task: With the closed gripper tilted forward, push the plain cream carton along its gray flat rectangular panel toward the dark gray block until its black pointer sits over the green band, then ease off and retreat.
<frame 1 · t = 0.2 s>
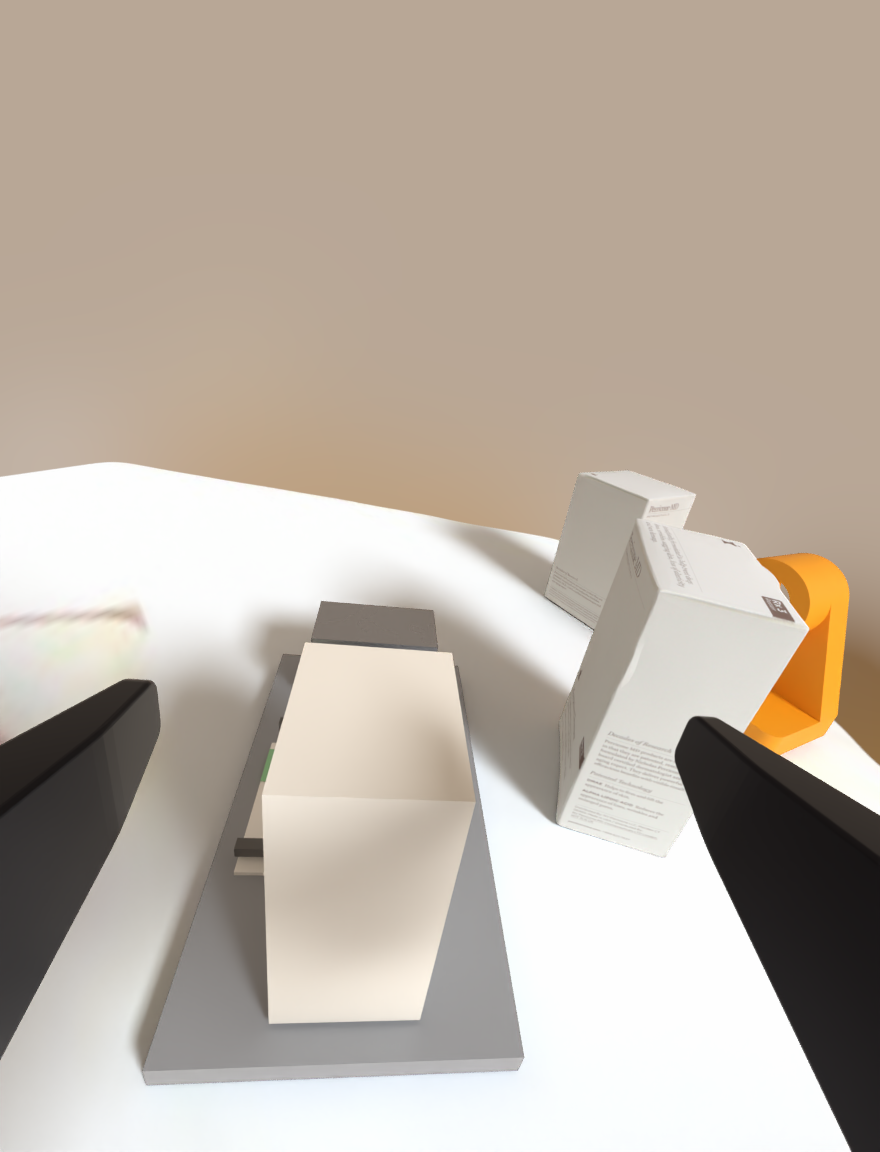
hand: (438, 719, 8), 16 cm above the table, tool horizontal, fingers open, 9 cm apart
dark gray block: (370, 689, 32), resting on gray flat rectangular panel
bracket: (717, 706, 38), on the table
supplement box: (594, 609, 48), on the table
skincare box: (606, 789, 29), on the table
gray flat rectangular panel: (361, 801, 26), on the table
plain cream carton: (330, 788, 18), point 7 cm above the table, slide at 0.0 cm
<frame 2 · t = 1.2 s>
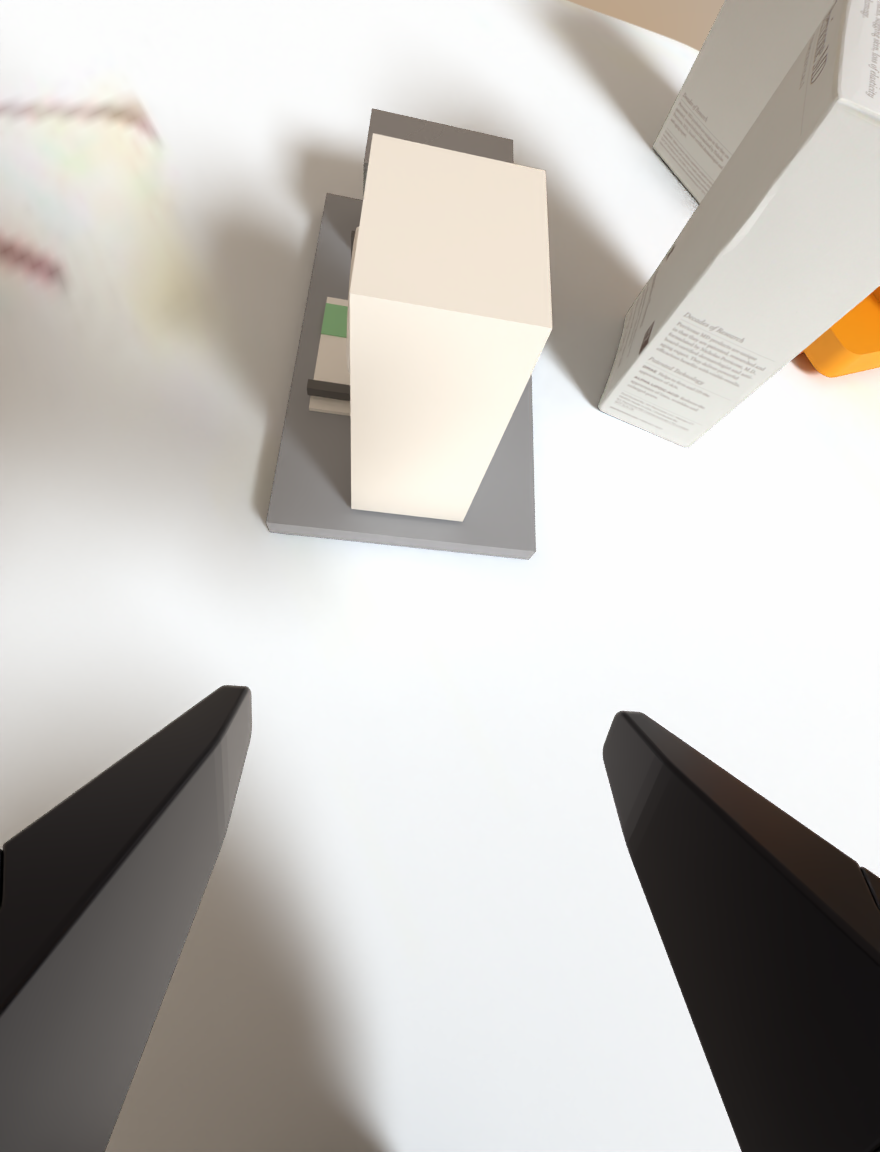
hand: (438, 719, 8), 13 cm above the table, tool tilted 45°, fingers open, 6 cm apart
dark gray block: (427, 249, 28), resting on gray flat rectangular panel
bracket: (805, 318, 34), on the table
supplement box: (711, 176, 38), on the table
skincare box: (654, 386, 29), on the table
gray flat rectangular panel: (417, 366, 27), on the table
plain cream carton: (396, 331, 19), point 7 cm above the table, slide at 0.0 cm
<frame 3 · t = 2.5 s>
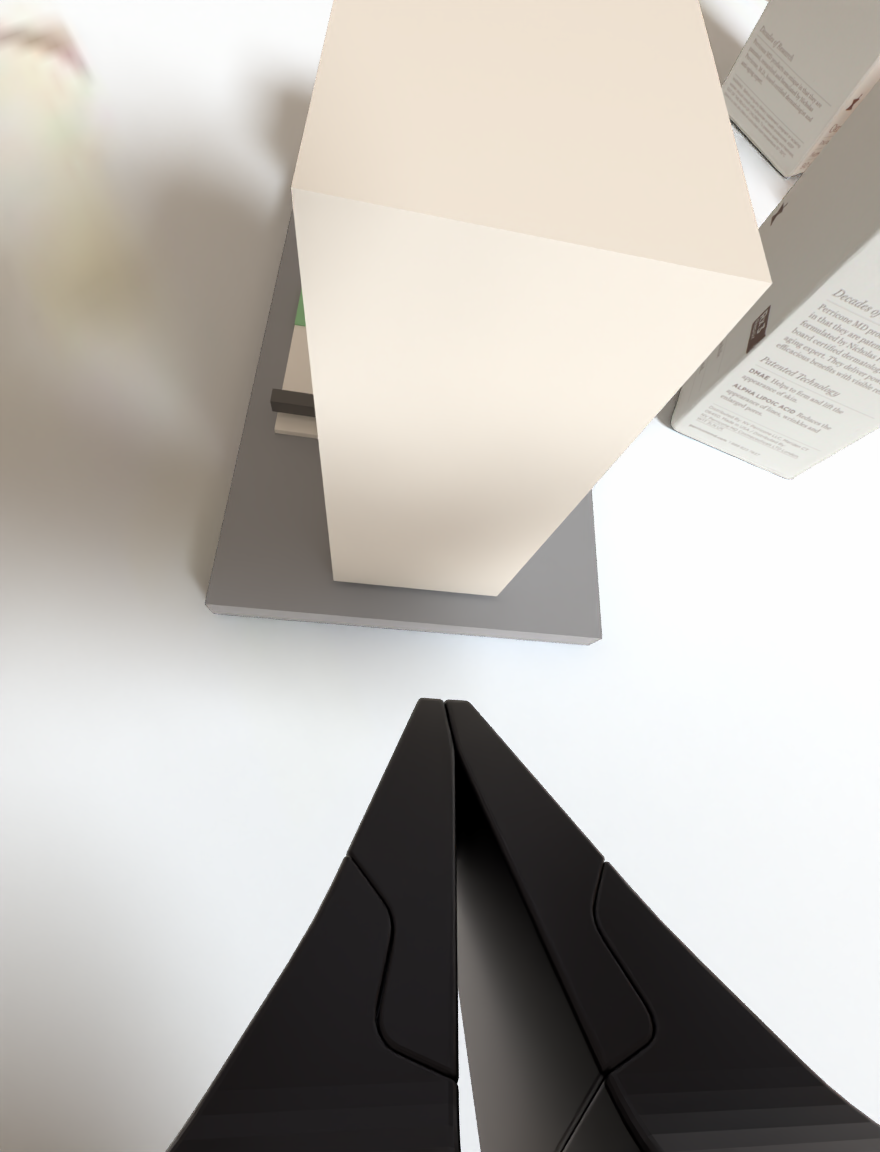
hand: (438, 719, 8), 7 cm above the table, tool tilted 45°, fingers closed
supplement box: (785, 137, 31), on the table
skincare box: (739, 396, 22), on the table
gray flat rectangular panel: (428, 370, 20), on the table
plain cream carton: (402, 314, 12), point 7 cm above the table, slide at 0.0 cm
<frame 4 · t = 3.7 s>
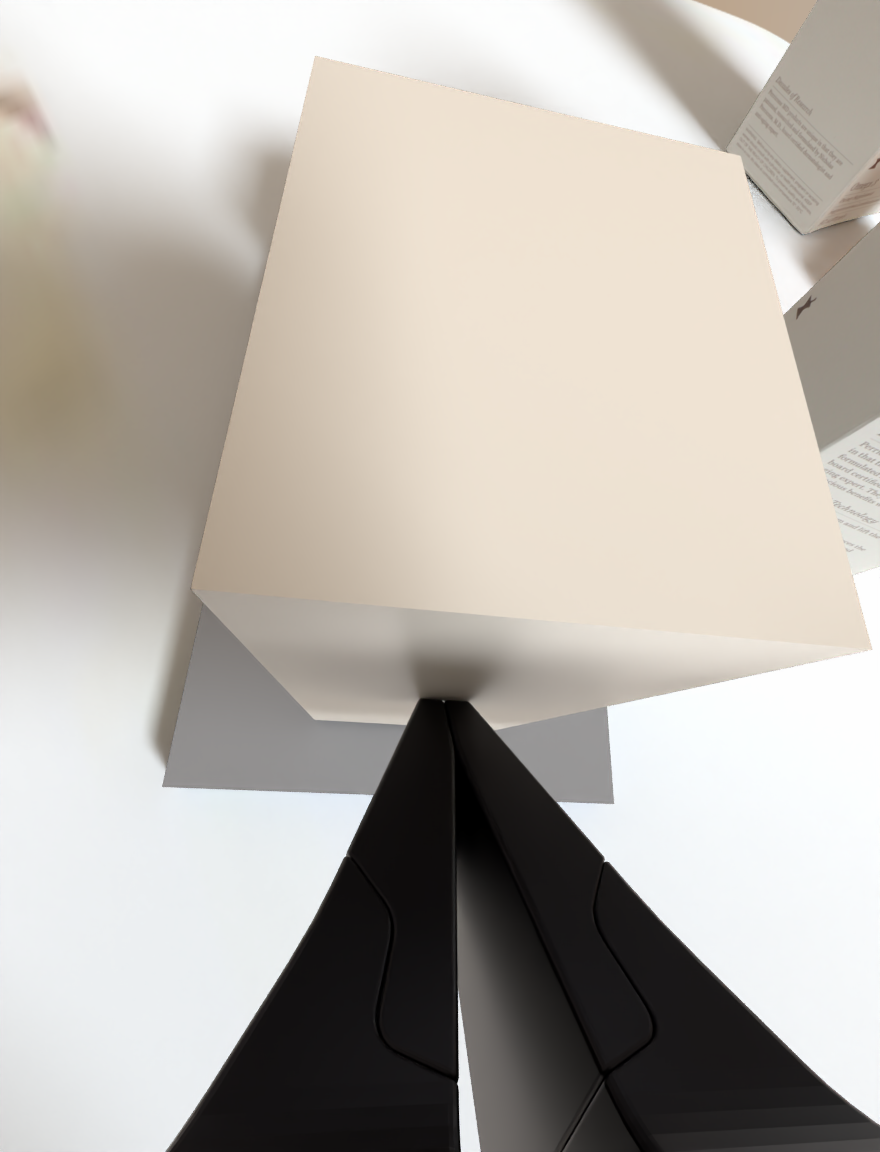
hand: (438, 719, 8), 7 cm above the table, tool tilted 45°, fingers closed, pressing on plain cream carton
supplement box: (800, 187, 29), on the table
skincare box: (758, 489, 21), on the table
gray flat rectangular panel: (420, 474, 18), on the table
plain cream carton: (386, 459, 10), point 7 cm above the table, slide at 0.8 cm, touching gripper
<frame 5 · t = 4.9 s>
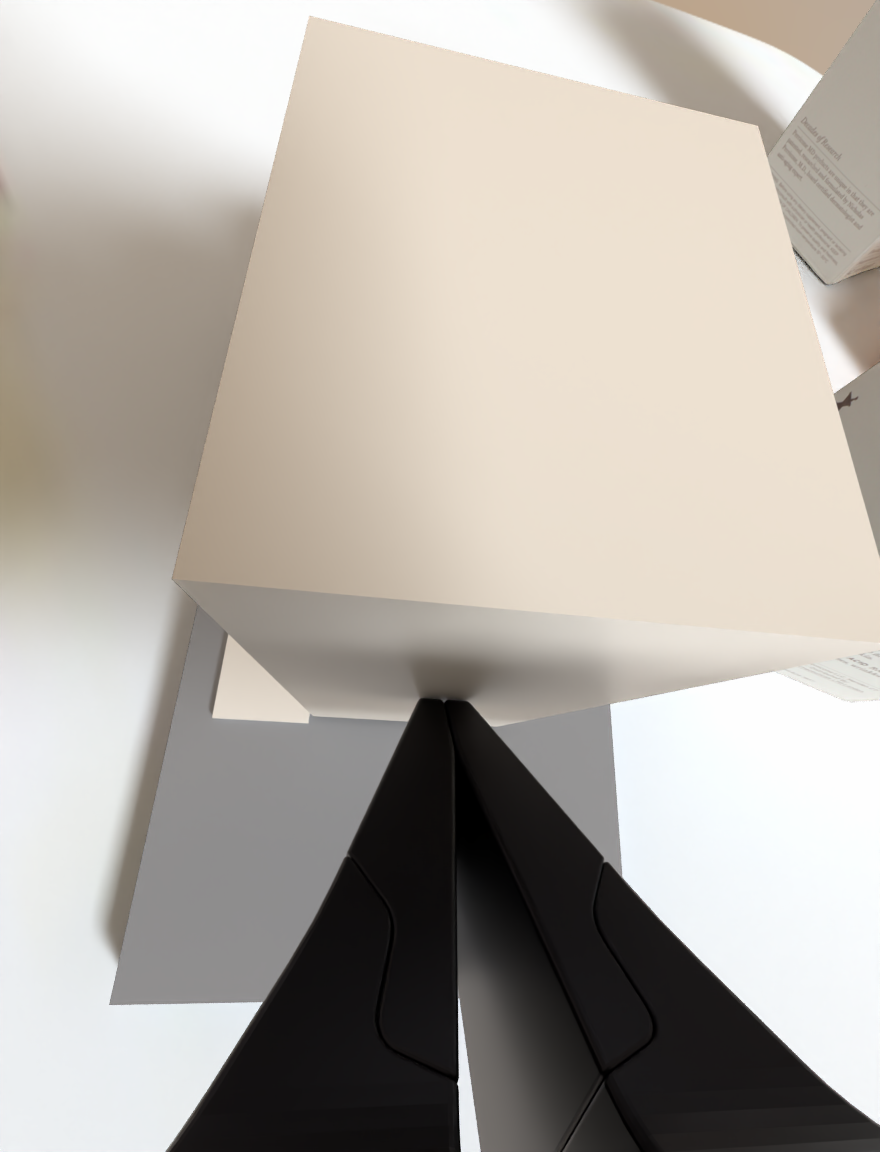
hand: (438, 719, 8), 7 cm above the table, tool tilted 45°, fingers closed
supplement box: (824, 230, 27), on the table
skincare box: (784, 584, 19), on the table
gray flat rectangular panel: (412, 584, 16), on the table
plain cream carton: (385, 450, 10), point 7 cm above the table, slide at 5.2 cm
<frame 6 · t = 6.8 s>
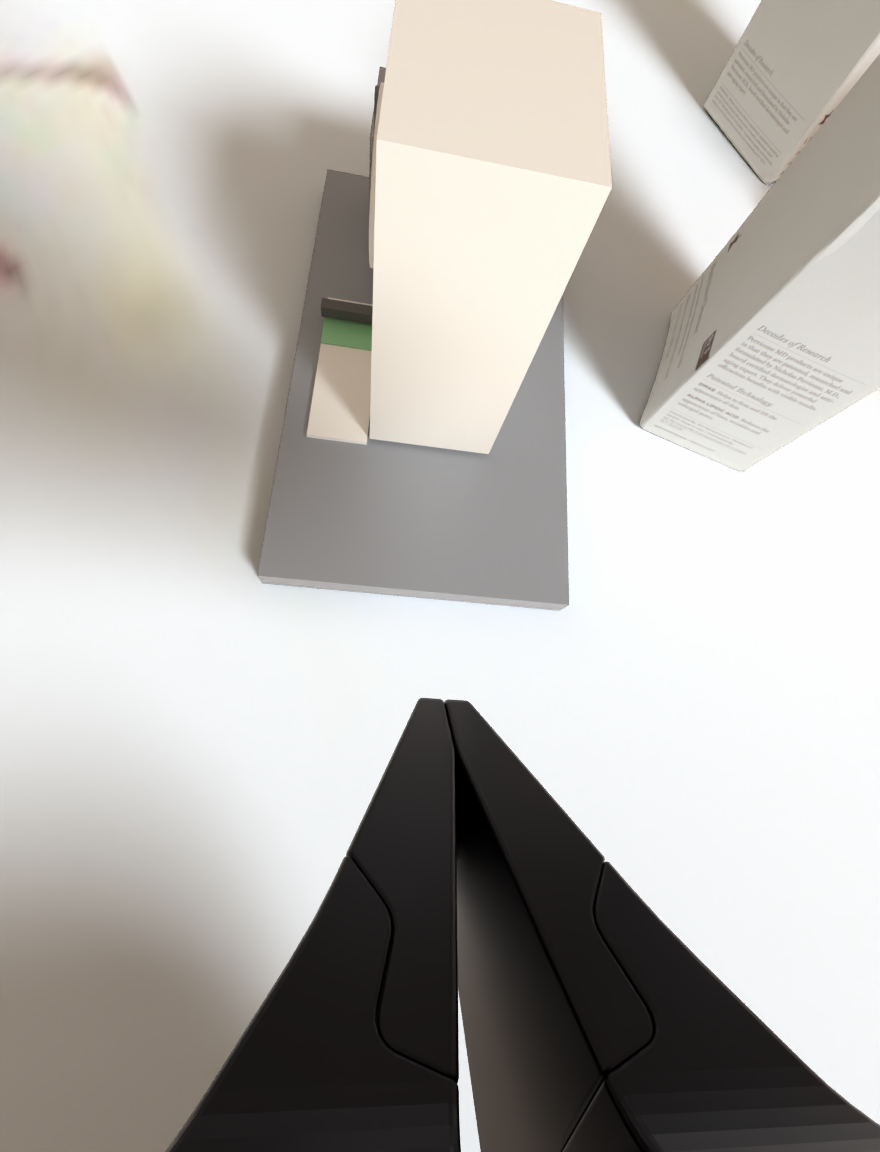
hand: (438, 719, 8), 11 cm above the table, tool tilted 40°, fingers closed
dark gray block: (444, 237, 24), resting on gray flat rectangular panel
supplement box: (770, 140, 33), on the table
skincare box: (703, 397, 26), on the table
gray flat rectangular panel: (432, 378, 23), on the table
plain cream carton: (421, 230, 17), point 7 cm above the table, slide at 5.2 cm
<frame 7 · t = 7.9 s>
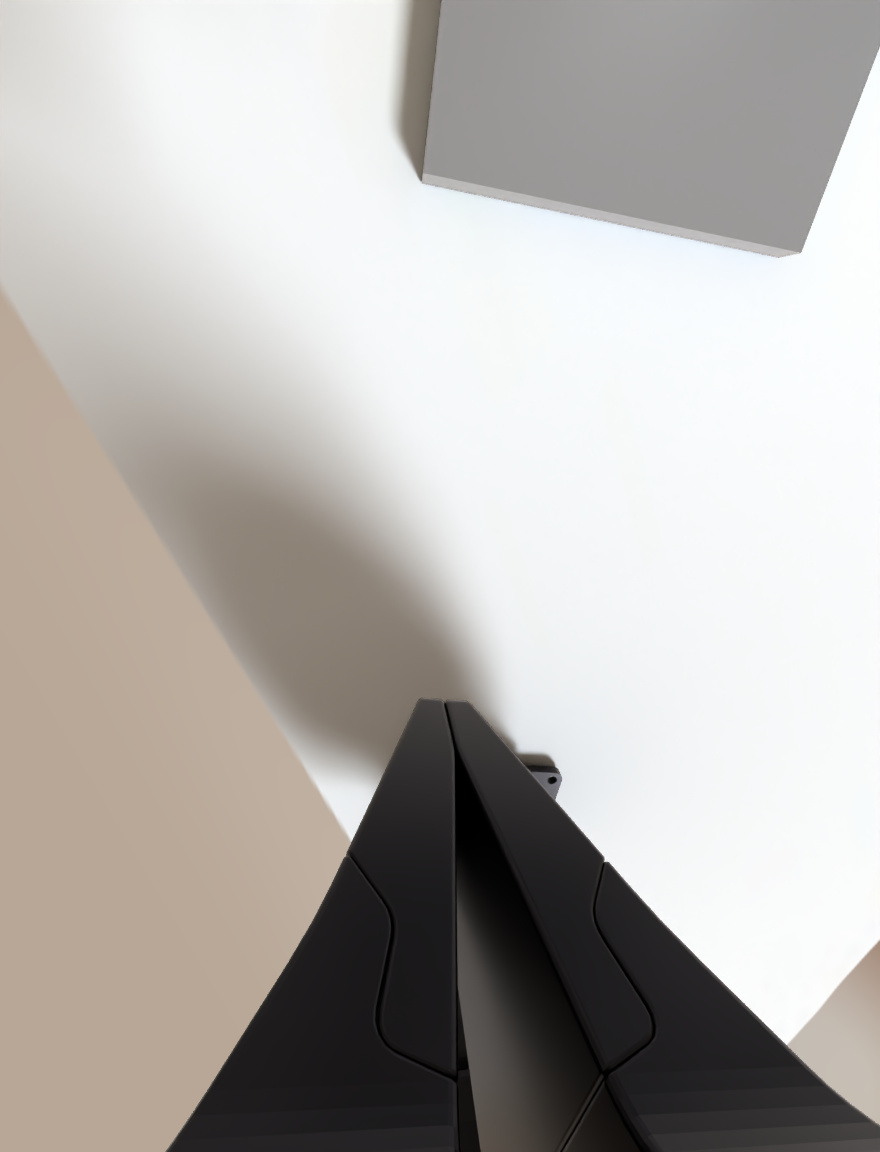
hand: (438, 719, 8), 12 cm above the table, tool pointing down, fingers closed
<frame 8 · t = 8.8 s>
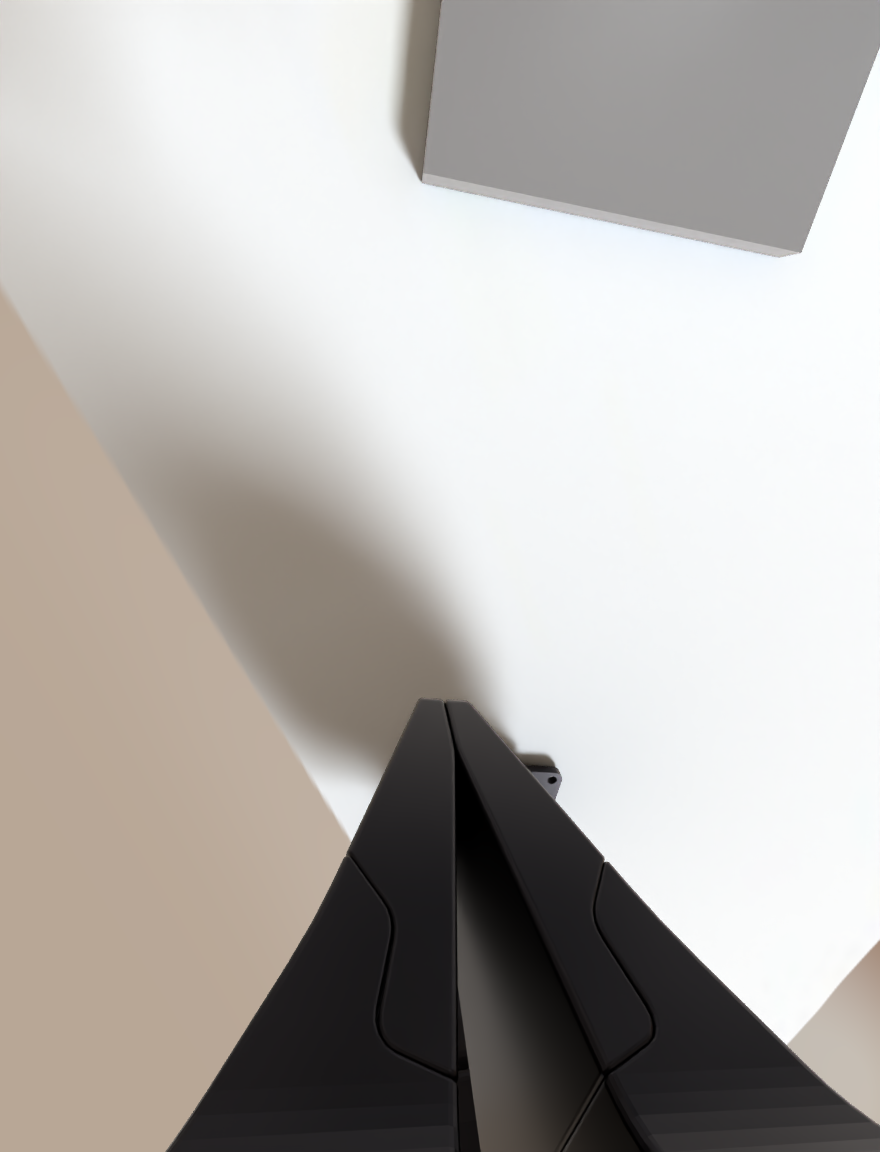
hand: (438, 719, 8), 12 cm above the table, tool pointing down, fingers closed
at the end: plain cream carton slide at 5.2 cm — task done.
